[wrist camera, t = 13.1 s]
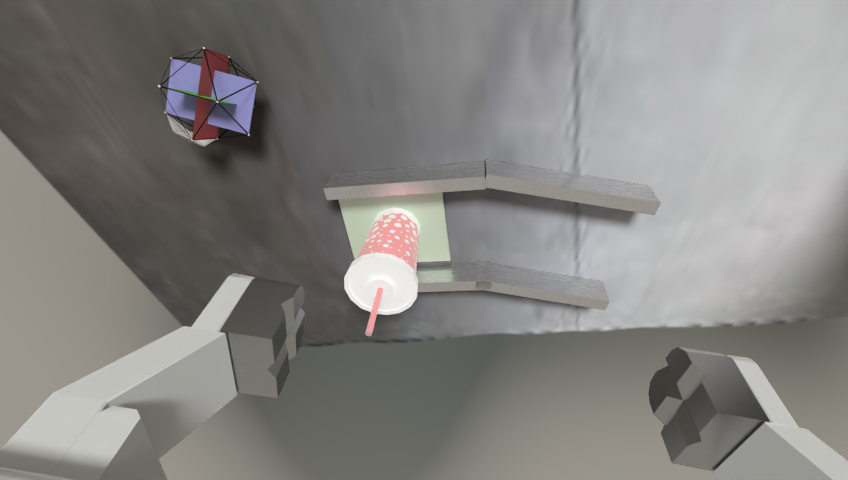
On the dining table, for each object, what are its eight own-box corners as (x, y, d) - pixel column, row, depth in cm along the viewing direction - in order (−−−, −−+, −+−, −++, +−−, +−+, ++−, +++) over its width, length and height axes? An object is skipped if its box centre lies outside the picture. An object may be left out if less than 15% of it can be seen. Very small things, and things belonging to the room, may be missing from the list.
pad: (441, 182, 40) (441, 184, 40) (450, 258, 45) (450, 260, 45) (337, 189, 42) (336, 191, 41) (357, 262, 47) (356, 264, 46)
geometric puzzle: (167, 10, 32) (120, 101, 30) (260, 36, 32) (221, 128, 30) (202, 73, 39) (166, 151, 36) (279, 94, 39) (248, 172, 37)
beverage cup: (403, 262, 46) (378, 372, 34) (354, 229, 44) (311, 334, 32) (440, 225, 42) (427, 333, 31) (389, 188, 41) (356, 288, 29)
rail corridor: (648, 185, 38) (660, 202, 36) (586, 313, 48) (592, 333, 45) (333, 134, 39) (323, 147, 36) (331, 271, 48) (323, 289, 45)
